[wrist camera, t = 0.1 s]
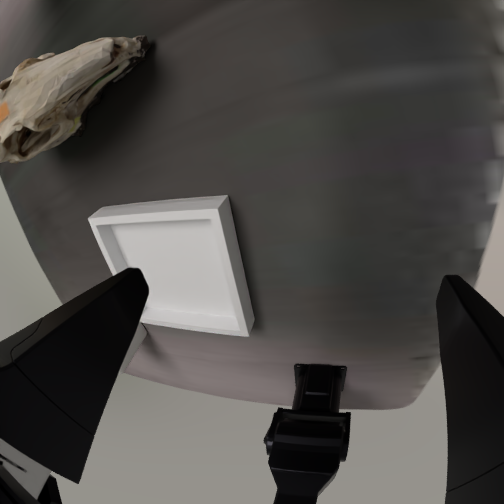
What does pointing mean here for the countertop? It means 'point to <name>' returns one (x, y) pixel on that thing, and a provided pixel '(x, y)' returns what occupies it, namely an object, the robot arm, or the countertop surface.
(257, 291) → the countertop surface
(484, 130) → the countertop surface
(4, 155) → the animal skull replica
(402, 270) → the countertop surface
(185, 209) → the tray
